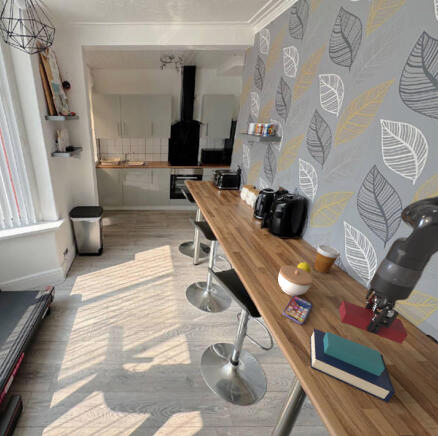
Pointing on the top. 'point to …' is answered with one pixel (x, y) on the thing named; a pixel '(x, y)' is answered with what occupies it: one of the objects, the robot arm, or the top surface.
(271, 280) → the top surface
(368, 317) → the red rectangular block
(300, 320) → the smartphone
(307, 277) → the lidded bowl
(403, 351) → the top surface
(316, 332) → the big book
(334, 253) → the disposable coffee cup
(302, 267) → the lemon
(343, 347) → the teal rectangular block
